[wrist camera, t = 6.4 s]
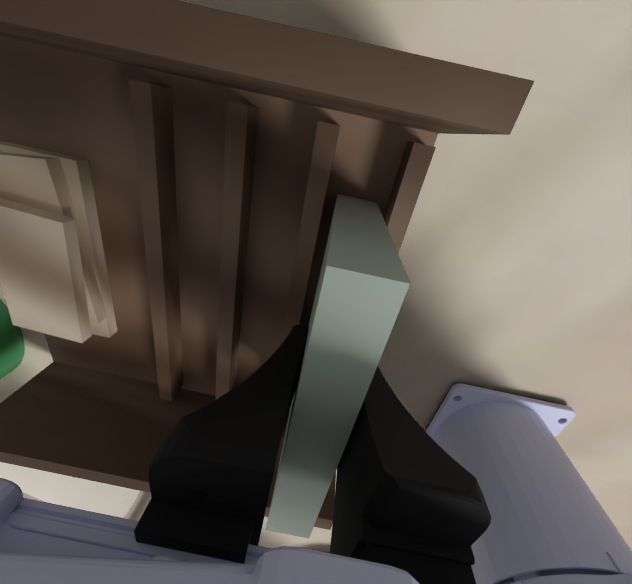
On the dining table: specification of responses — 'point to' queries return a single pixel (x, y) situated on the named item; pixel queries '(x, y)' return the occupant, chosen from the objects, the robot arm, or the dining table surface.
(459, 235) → the dining table surface
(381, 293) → the sheet
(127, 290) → the rack
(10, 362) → the tape roll
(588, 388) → the dining table surface
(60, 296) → the offcut stack
